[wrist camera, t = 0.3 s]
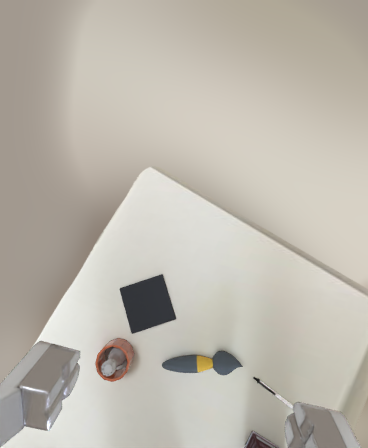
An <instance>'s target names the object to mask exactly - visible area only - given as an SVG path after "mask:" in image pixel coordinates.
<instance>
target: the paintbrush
mask: <svg viewBox="0 0 368 448" xmlns="http://www.w3.org/2000/svg"><path fill="white" fill-rule="evenodd" d="M162 367H163V368H165V369H167V370H170V371H175V372H182V373H198V372H202V371H205V370H208V369H210V368H214V370H215V371H216V372H217V373H218V374H220V375H227V374H229V373H230V372H232V371H233V370H234V369H236V368H238V367H243V366H242V365H241V364H240V362H239V361H238V360H237V359H236V358H235V357H234V356H232V355H231V354H229V353H227V352H225V351H219V352H217V353H216V354H215V355H214V356H213V359H211V358H207V357H203V356H199V355H189V356H182V357H177V358H173V359H169V360H167V361H165V362H164V363H163V364H162Z"/></svg>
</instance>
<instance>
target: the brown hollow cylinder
mask: <svg viewBox="0 0 368 448" xmlns="http://www.w3.org/2000/svg"><path fill="white" fill-rule="evenodd" d="M110 347H116V348H120V349H121V350H122V351H123V352H124V353H125V355H126V359H127V366H126V368H123V369H121V370H115V372H114V373H113V374H112V375H111V376H106V375H103V372H102V364H103V363H104V362H105V361H106V360H105V356H104V355H105V351H106V349H107V348H110ZM133 357H134V352H133V348H132V346H131V345H130V344H129V342H128V341H127V340H124V339H120V338H117V339H114V340H111V341H110V342H109V343H108V344H107V345H106V346H105V347H104V348H103V349H102V350H101V351H100V352H99V353H98V355H97V359H96V368H97V373H98V374H99V375H100V376H101V377H102V378H103V379H104V380H107V381H116V380H119V379H121V378H122V377H123V376H124V375H125V374H126V373H127V371H128V369H129V368H130V366H131V364H132V361H133Z"/></svg>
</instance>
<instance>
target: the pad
mask: <svg viewBox="0 0 368 448" xmlns="http://www.w3.org/2000/svg"><path fill="white" fill-rule="evenodd" d="M120 292H121V296H122V299H123V303H124V307H125V310H126V314H127V318H128V321H129V325H130V329H131V332H132V334H133V333H136V332H139V331H142V330H145V329H148V328H151V327H154V326H157V325H160V324H162V323H165V322H168V321H171V320H174V319H176V317H175V314H174V311H173V308H172V304H171V301H170V298H169V294H168V291H167V288H166V285H165V281H164V278H163V275H159V276H156V277H153V278H150V279H147V280H144V281H141V282H138V283H135V284H132V285H129V286H126V287H123V288H120Z"/></svg>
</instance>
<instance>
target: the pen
mask: <svg viewBox="0 0 368 448" xmlns="http://www.w3.org/2000/svg"><path fill="white" fill-rule="evenodd" d="M253 378H254V379H255V380H256V381H257V383H259V384H260V385H261V386H263V387H264V388H265V389H266V390H268V391H269V392H270V393H272V394H273V395H274V396H276V397H277V398H278V399H279V400H281V401H282V402H283V403H285V404H286V405H287V406H289V407H290V408H291V409H293V406H294V405H292V404H291V403H290V402H288V401H287V400H286V399H284V398H283V397H282V396H280V395H279V394H278V393H276V392H275V391H274V390H273V389H271V388H270V387H269V386H267V385H266V384H265V383H263V382H262V381H261V380H259V379H256V378H255V377H253Z"/></svg>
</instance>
